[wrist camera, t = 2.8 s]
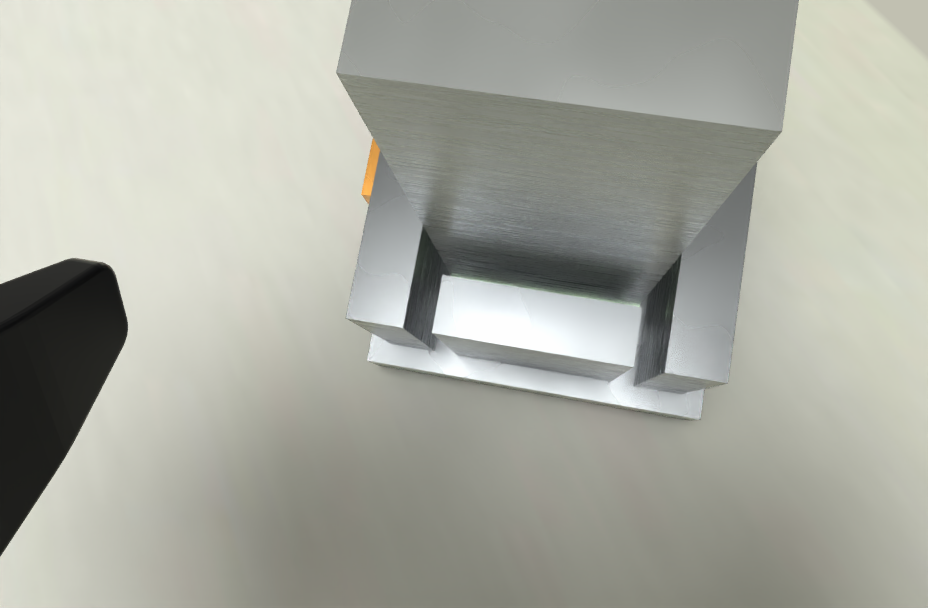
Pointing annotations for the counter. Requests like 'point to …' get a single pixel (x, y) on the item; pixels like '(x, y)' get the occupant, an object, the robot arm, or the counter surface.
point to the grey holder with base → (550, 315)
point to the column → (568, 127)
